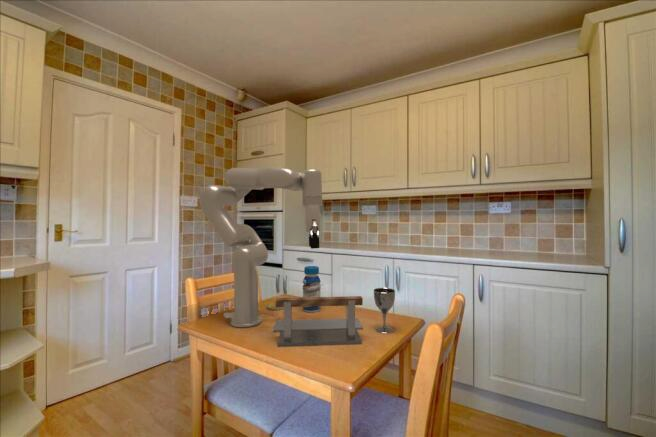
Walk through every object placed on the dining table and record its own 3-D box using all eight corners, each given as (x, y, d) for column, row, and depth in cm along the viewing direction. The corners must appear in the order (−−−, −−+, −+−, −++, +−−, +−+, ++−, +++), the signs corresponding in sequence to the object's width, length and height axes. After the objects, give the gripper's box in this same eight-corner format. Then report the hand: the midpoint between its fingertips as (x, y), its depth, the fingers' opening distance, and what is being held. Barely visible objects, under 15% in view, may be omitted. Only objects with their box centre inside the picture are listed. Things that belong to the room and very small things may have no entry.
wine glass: (389, 335, 109) (389, 293, 109) (370, 330, 114) (369, 290, 114) (398, 328, 116) (398, 289, 116) (379, 324, 120) (379, 286, 121)
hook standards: (277, 346, 100) (277, 304, 100) (280, 335, 110) (280, 296, 110) (361, 343, 102) (361, 302, 102) (356, 332, 112) (356, 294, 112)
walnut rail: (275, 307, 103) (275, 300, 103) (276, 304, 106) (276, 298, 106) (362, 305, 105) (362, 298, 105) (361, 302, 108) (360, 296, 108)
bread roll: (274, 304, 150) (274, 296, 150) (288, 307, 145) (288, 299, 145) (262, 308, 143) (262, 300, 143) (276, 312, 138) (276, 303, 138)
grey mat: (273, 331, 113) (273, 330, 113) (275, 322, 124) (276, 320, 124) (362, 329, 116) (362, 327, 116) (358, 319, 126) (358, 318, 126)
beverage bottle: (320, 307, 145) (320, 265, 145) (321, 312, 137) (321, 268, 137) (302, 307, 144) (302, 265, 145) (302, 312, 136) (302, 268, 136)
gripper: (301, 204, 123) (303, 246, 123) (303, 200, 106) (305, 249, 106) (320, 203, 124) (321, 245, 124) (324, 200, 107) (326, 248, 107)
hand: (314, 247), depth 115 cm, fingers open, 9 cm apart
